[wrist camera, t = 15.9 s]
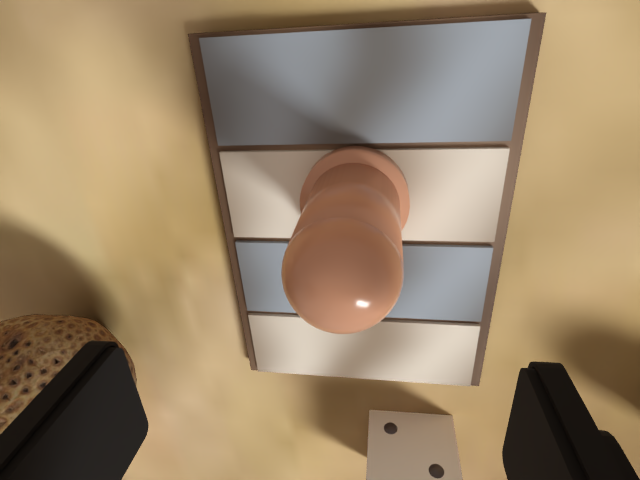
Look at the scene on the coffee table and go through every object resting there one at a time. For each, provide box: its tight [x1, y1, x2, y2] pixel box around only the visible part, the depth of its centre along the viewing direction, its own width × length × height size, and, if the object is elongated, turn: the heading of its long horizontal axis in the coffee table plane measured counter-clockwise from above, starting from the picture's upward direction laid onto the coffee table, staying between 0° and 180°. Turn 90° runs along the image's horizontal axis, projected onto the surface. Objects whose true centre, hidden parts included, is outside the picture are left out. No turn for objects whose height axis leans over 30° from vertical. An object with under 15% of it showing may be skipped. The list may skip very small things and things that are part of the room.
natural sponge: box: [0, 314, 137, 434], centre depth 21 cm, size 9×9×10 cm
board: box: [188, 13, 546, 386], centre depth 20 cm, size 13×18×1 cm
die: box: [366, 410, 463, 480], centre depth 25 cm, size 5×5×5 cm
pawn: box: [281, 146, 410, 334], centre depth 15 cm, size 5×5×8 cm
